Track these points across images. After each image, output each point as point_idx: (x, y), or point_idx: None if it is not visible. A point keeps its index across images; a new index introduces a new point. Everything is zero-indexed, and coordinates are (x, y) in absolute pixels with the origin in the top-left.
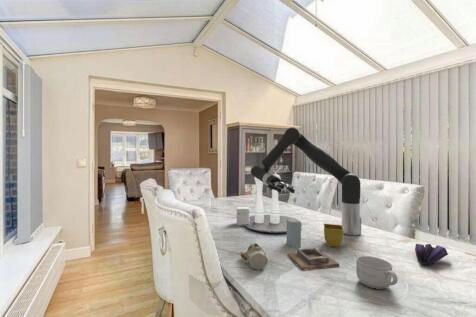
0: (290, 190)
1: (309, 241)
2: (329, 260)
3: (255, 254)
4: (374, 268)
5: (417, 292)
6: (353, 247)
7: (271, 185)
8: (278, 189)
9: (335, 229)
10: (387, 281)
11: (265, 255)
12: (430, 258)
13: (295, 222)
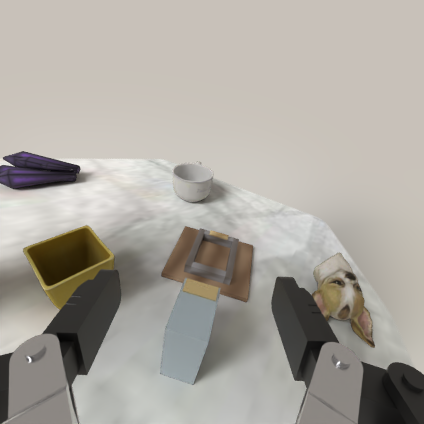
0: (97, 334)
1: (107, 351)
2: (190, 238)
3: (347, 262)
4: (209, 168)
5: (166, 176)
6: None
7: (417, 376)
8: (302, 293)
9: (97, 237)
10: (194, 176)
11: (324, 261)
12: (73, 165)
13: (207, 284)
